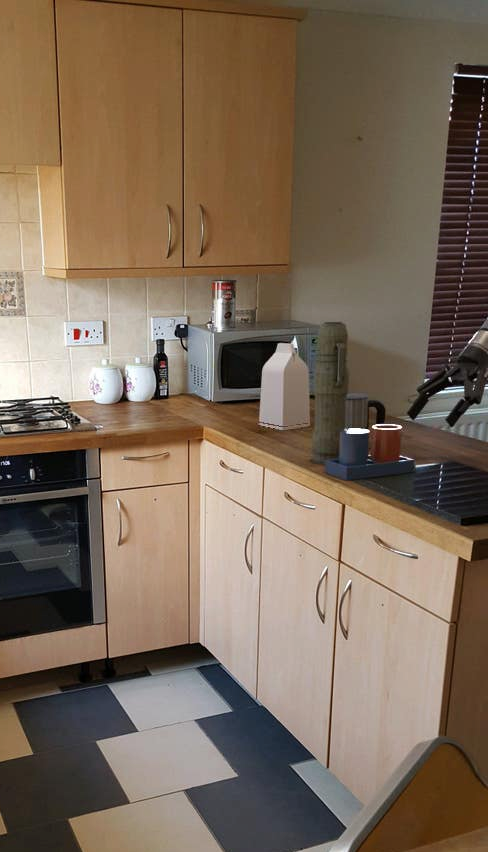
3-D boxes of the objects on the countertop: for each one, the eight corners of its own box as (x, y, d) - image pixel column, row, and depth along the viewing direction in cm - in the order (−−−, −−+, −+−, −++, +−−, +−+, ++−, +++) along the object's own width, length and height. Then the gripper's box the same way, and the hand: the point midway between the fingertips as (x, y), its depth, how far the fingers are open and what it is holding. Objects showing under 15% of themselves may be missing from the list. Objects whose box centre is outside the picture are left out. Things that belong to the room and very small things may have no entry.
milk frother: (345, 453, 238) (347, 398, 234) (315, 444, 252) (316, 392, 247) (389, 448, 243) (392, 394, 238) (357, 440, 257) (359, 388, 252)
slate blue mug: (373, 473, 212) (375, 431, 208) (348, 476, 209) (350, 434, 206) (357, 467, 218) (358, 427, 215) (332, 470, 215) (334, 430, 212)
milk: (258, 425, 286) (259, 343, 278) (285, 422, 292) (287, 341, 284) (282, 430, 277) (283, 345, 268) (310, 426, 282) (312, 343, 274)
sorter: (413, 472, 214) (414, 459, 213) (346, 480, 208) (346, 467, 207) (389, 464, 223) (390, 452, 222) (324, 472, 216) (324, 460, 215)
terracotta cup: (405, 468, 215) (407, 427, 211) (381, 471, 212) (383, 430, 209) (388, 463, 221) (390, 423, 218) (364, 466, 218) (366, 426, 215)
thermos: (331, 455, 237) (335, 320, 225) (355, 463, 226) (361, 322, 215) (302, 458, 234) (305, 322, 222) (325, 466, 223) (329, 324, 212)
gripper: (525, 367, 210) (473, 436, 209) (450, 361, 231) (402, 423, 230) (511, 346, 206) (458, 416, 205) (436, 341, 227) (387, 404, 226)
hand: (428, 420), depth 217 cm, fingers open, 13 cm apart
